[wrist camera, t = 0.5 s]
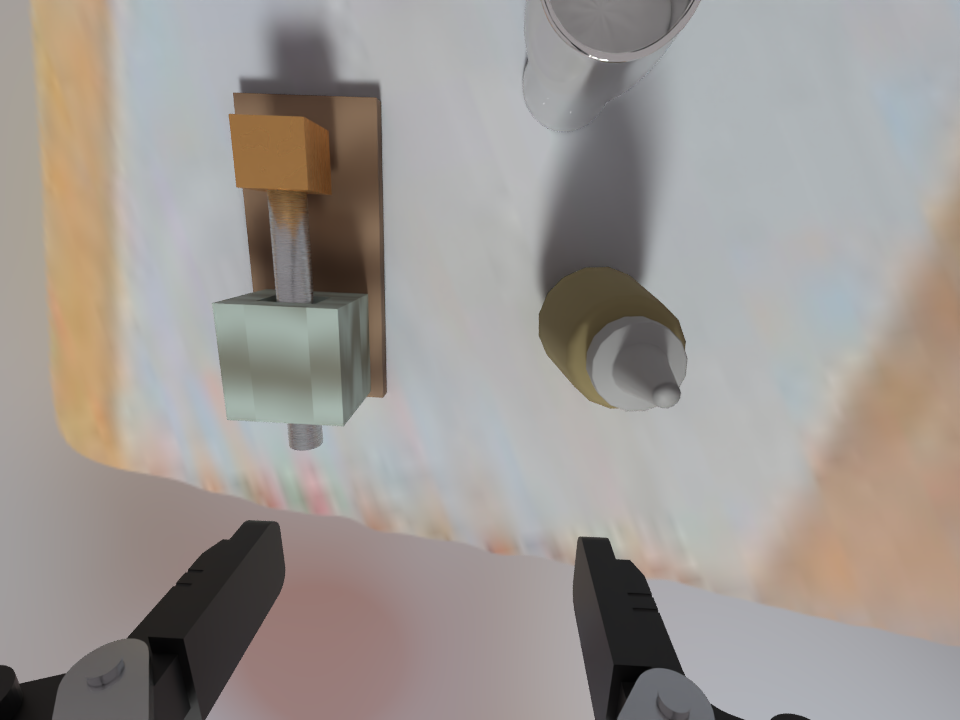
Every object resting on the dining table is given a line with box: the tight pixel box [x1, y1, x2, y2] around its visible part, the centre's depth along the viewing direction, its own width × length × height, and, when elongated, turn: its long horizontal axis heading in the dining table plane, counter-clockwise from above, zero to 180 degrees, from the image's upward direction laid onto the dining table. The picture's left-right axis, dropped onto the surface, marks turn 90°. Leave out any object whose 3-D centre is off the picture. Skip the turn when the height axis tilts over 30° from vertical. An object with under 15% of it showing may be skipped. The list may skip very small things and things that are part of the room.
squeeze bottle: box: [539, 267, 687, 411], centre depth 27 cm, size 8×8×18 cm
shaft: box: [229, 114, 332, 450], centre depth 31 cm, size 22×4×4 cm, turn 178°
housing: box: [212, 93, 387, 426], centre depth 31 cm, size 22×10×8 cm, turn 178°
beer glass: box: [523, 0, 701, 132], centre depth 24 cm, size 7×7×15 cm
